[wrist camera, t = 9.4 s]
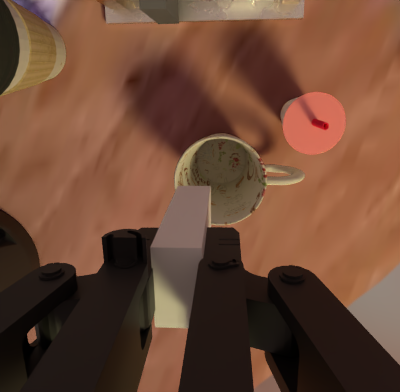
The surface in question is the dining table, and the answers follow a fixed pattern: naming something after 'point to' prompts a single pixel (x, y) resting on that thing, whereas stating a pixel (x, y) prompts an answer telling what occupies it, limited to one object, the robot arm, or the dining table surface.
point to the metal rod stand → (208, 10)
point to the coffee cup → (27, 49)
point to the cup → (313, 122)
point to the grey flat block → (161, 10)
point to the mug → (230, 175)
